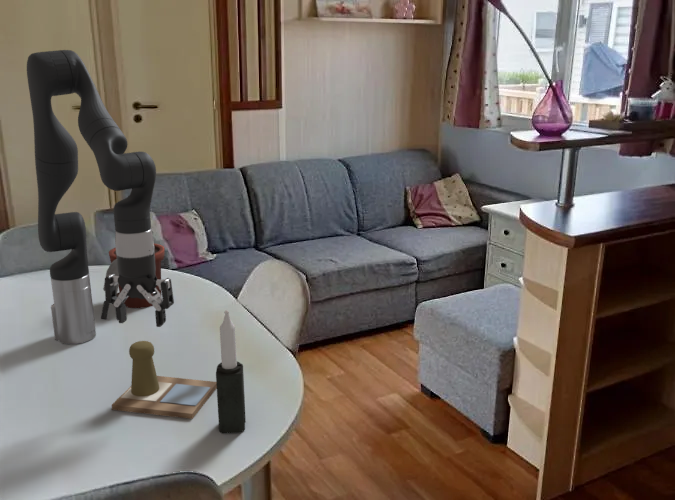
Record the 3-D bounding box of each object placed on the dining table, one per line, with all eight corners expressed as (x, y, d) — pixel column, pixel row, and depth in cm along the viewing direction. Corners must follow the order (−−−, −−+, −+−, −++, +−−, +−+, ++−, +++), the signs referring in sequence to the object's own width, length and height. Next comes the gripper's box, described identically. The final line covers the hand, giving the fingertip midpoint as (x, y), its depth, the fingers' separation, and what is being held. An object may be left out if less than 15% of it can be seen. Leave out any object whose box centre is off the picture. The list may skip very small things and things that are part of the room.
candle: (220, 420, 139) (214, 305, 132) (245, 419, 139) (240, 305, 132) (218, 433, 134) (211, 315, 127) (244, 432, 135) (239, 315, 127)
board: (112, 409, 143) (111, 403, 143) (143, 379, 156) (143, 373, 156) (192, 419, 140) (192, 412, 139) (217, 386, 153) (217, 381, 152)
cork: (151, 397, 145) (147, 350, 142) (125, 395, 146) (121, 348, 143) (164, 384, 151) (160, 338, 148) (138, 381, 152) (134, 336, 149)
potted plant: (177, 306, 200) (171, 223, 193) (101, 321, 189) (92, 234, 182) (159, 288, 214) (152, 211, 207) (87, 301, 204) (78, 220, 196)
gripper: (93, 253, 137) (101, 327, 142) (159, 258, 134) (165, 334, 139) (112, 243, 144) (119, 314, 149) (175, 247, 141) (180, 319, 146)
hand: (141, 323), depth 144 cm, fingers open, 8 cm apart
